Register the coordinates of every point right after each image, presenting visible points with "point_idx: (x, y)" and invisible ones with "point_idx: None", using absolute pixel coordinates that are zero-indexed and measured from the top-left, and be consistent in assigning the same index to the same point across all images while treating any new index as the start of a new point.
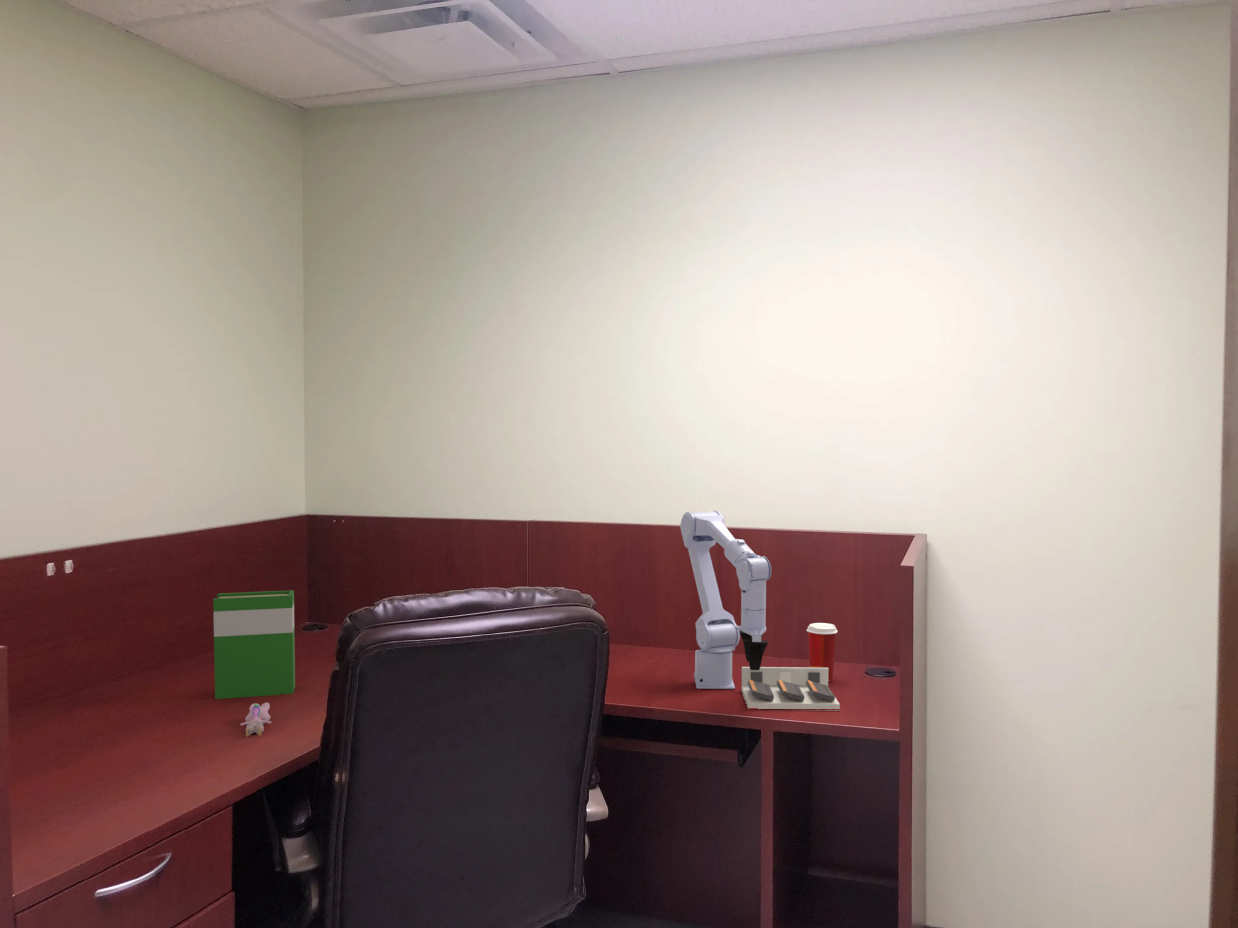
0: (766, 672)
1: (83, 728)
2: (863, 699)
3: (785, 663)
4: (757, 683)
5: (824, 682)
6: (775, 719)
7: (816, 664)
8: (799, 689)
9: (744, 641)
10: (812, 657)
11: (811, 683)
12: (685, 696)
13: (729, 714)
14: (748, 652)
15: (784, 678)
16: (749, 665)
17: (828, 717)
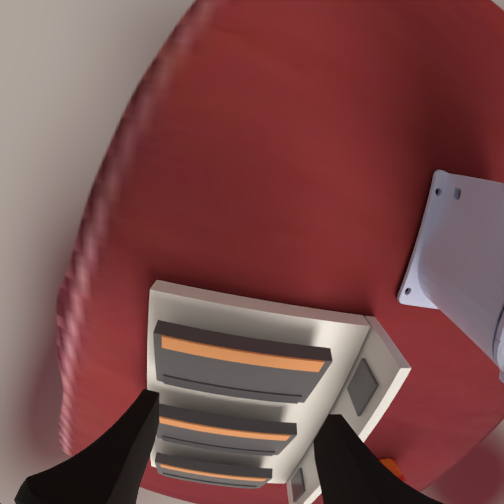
0: (353, 424)
1: None
2: (227, 494)
3: (483, 420)
4: (293, 378)
5: (290, 487)
6: (69, 321)
7: None
8: (225, 450)
9: (21, 500)
10: None
11: (236, 478)
12: (360, 92)
13: (108, 198)
14: (78, 454)
15: None
16: (137, 401)
17: (104, 423)
